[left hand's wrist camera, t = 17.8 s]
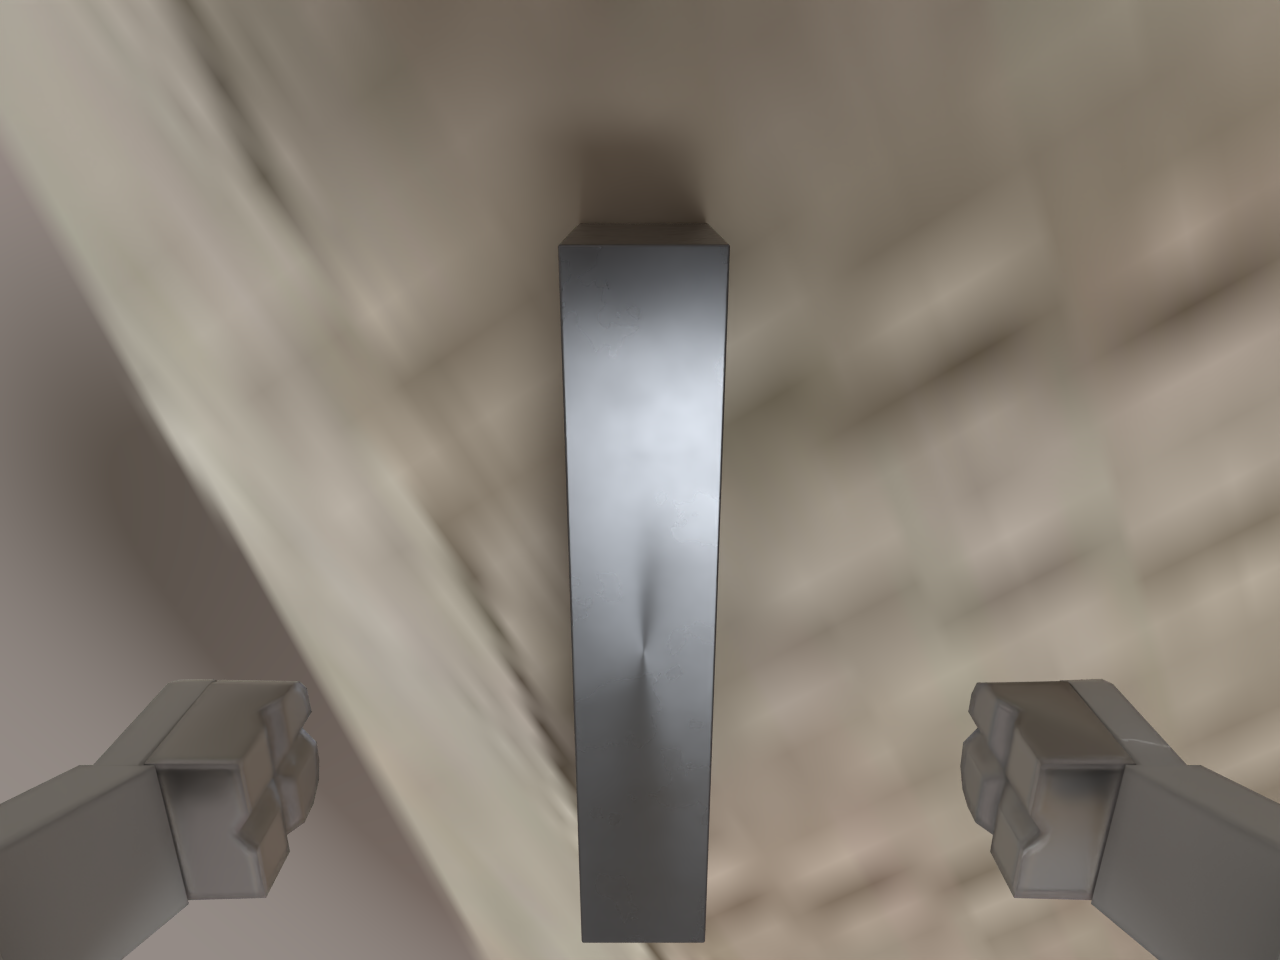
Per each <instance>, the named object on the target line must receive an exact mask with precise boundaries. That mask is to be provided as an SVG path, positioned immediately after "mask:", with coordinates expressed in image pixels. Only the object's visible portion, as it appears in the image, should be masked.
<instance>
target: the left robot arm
mask: <svg viewBox="0 0 1280 960" xmlns="http://www.w3.org/2000/svg"><path fill="white" fill-rule="evenodd" d="M311 712H312V711H311V706H310V701H309V696H308V691H307V688H306V687H305V686H304V685H303V684H302V683H301V682H299V681H250V680H219V681H217V680H177V681H174V682H170V683H168V684H167V685H166V686H165V687H164V688H163V689H162V690H161V691H160V692H159V694H158V695H157V696H156V697H155V698H154V699H153V700H152V701H151V702H150V703H149V705H148V706H147V707H146V708H145V709H144V710H143V711H142V712H141V713H140V714H139V715H138V717H137V718H136V719H135V720H134V721H133V722H132V723H131V724H130V725H129V726H128V727H127V729H126V730H125V731H124V732H123V733H122V734H121V735H120V736H119V737H118V738H117V740H116V741H115V742H114V743H113V744H112V745H111V746H110V747H109V748H108V749H107V751H106V752H105V753H104V754H103V755H102V756H101V757H100V758H99V759H98V760H97V761H96V763H95V764H94V765H79V766H77V767H75V768H73V769H71V770H69V771H67V772H64V773H62V774H60V775H58V776H56V777H54V778H52V779H50V780H48V781H46V782H44V783H42V784H40V785H38V786H36V787H34V788H32V789H30V790H28V791H26V792H24V793H22V794H20V795H18V796H16V797H14V798H11V799H10V800H7V801H5V802H3V803H1V804H0V960H122V959H123V958H124V957H125V956H127V955H128V954H129V953H130V952H131V951H133V950H134V949H135V948H136V947H138V946H139V945H140V944H141V943H142V942H144V941H145V940H146V939H147V938H148V937H150V936H151V935H152V934H153V933H154V932H156V931H157V930H158V929H159V928H160V927H162V926H163V925H164V924H165V923H167V922H168V921H169V920H170V919H171V918H173V917H174V916H175V915H176V914H177V913H179V912H180V911H181V910H182V909H183V908H185V907H186V906H187V905H188V903H189V902H188V900H206V899H240V898H266V897H267V895H268V893H269V891H270V889H271V887H272V885H273V883H274V881H275V879H276V877H277V875H278V873H279V872H280V869H281V868H282V866H283V864H284V862H285V860H286V858H287V856H288V854H289V852H290V850H289V845H288V839H287V834H289V833H290V832H292V831H293V830H294V829H296V828H297V827H299V826H300V825H302V824H303V823H304V822H305V820H306V818H307V816H308V814H309V812H310V810H311V808H312V806H313V804H314V799H315V795H316V790H317V786H318V781H319V755H318V748H317V742H316V741H315V740H314V739H313V738H312V737H311V736H310V735H309V734H308V733H307V732H306V731H305V730H304V729H303V728H302V727H303V726H304V724H305V722H306V720H307V719H308V717H309V715H310V714H311ZM968 712H969V714H970V715H971V717H972V719H973V720H974V722H975V724H976V726H977V727H978V728H977V729H976V730H975V731H974V732H973V733H972V734H971V735H970V736H969V737H968V738H967V739H966V740H965V741H964V742H963V749H962V757H961V765H960V767H961V778H962V789H963V792H964V796H965V799H966V802H967V806H968V808H969V810H970V812H971V814H972V816H973V818H974V820H975V822H976V823H977V824H978V825H980V826H981V827H983V828H984V829H986V830H987V831H988V832H990V833H991V834H993V839H992V844H991V850H990V852H991V854H992V856H993V858H994V860H995V862H996V864H997V866H998V868H999V869H1000V871H1001V873H1002V875H1003V877H1004V879H1005V881H1006V883H1007V885H1008V887H1009V889H1010V891H1011V893H1012V895H1013V897H1014V898H1038V899H1073V900H1092V902H1091V904H1092V905H1093V906H1095V907H1096V908H1097V909H1098V910H1099V911H1101V912H1102V913H1103V914H1104V915H1105V916H1107V917H1108V918H1109V919H1110V920H1111V921H1113V922H1114V923H1115V924H1116V925H1117V926H1119V927H1120V928H1121V929H1122V930H1123V931H1125V932H1126V933H1127V934H1128V935H1129V936H1131V937H1132V938H1133V939H1134V940H1135V941H1137V942H1138V943H1139V944H1140V945H1142V946H1143V947H1144V948H1145V949H1146V950H1148V951H1149V952H1150V953H1151V954H1152V955H1154V956H1155V957H1156V958H1157V959H1158V960H1280V804H1279V803H1277V802H1274V801H1272V800H1270V799H1268V798H1266V797H1264V796H1262V795H1260V794H1258V793H1256V792H1254V791H1252V790H1250V789H1248V788H1246V787H1244V786H1242V785H1240V784H1238V783H1236V782H1234V781H1232V780H1230V779H1228V778H1226V777H1224V776H1222V775H1220V774H1218V773H1215V772H1213V771H1211V770H1209V769H1207V768H1205V767H1203V766H1201V765H1186V764H1185V762H1184V761H1183V760H1182V759H1181V758H1180V757H1179V756H1178V755H1177V754H1176V753H1175V752H1174V750H1173V749H1172V748H1171V747H1170V746H1169V745H1168V744H1167V743H1166V742H1165V741H1164V739H1163V738H1162V737H1161V736H1160V735H1159V734H1158V733H1157V732H1156V731H1155V730H1154V729H1153V727H1152V726H1151V725H1150V724H1149V723H1148V722H1147V721H1146V720H1145V719H1144V718H1143V716H1142V715H1141V714H1140V713H1139V712H1138V711H1137V710H1136V709H1135V708H1134V707H1133V706H1132V704H1131V703H1130V702H1129V701H1128V700H1127V699H1126V698H1125V697H1124V696H1123V695H1122V694H1121V692H1120V691H1119V690H1118V689H1117V688H1116V687H1115V686H1114V685H1113V684H1112V683H1110V682H1107V681H1105V680H1103V679H1089V680H1061V681H1044V682H989V683H977V684H976V686H975V688H974V690H973V692H972V694H971V700H970V705H969V711H968Z"/></svg>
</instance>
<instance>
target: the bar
mask: <svg viewBox="0 0 1280 960" xmlns="http://www.w3.org/2000/svg"><path fill="white" fill-rule="evenodd" d="M558 256H559V285H560V315H561V344H562V373H563V403H564V432H565V462H566V491H567V521H568V550H569V580H570V609H571V638H572V668H573V697H574V727H575V756H576V786H577V815H578V845H579V874H580V903H581V933H582V942H583V943H703V942H705V926H706V898H707V870H708V842H709V814H710V786H711V759H712V731H713V703H714V675H715V647H716V619H717V591H718V564H719V536H720V508H721V480H722V452H723V424H724V397H725V369H726V341H727V313H728V285H729V257H730V246H729V244H728V243H727V242H726V241H725V240H724V239H723V238H722V237H721V236H720V235H718V234H717V233H716V232H715V231H714V230H713V229H712V228H711V227H710V226H709V225H708V224H578V225H577V226H576V227H575V229H574V230H573V231H572V232H571V233H570V234H569V235H568V236H567V237H566V238H565V239H564V240H563V241H562V242H561V243H560V244H559V246H558Z"/></svg>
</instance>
